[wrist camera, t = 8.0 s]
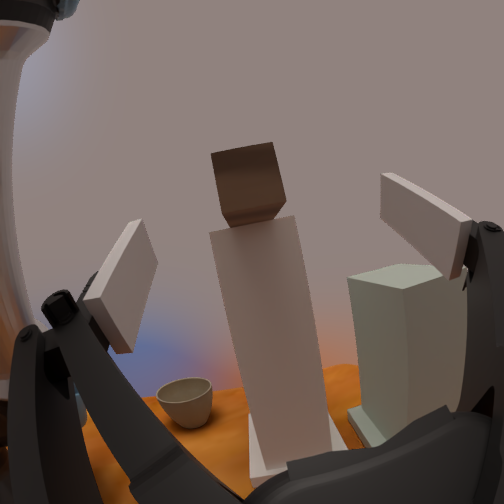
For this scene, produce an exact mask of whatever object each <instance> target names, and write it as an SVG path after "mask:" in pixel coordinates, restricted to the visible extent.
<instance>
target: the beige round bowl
mask: <svg viewBox="0 0 504 504" xmlns="http://www.w3.org/2000/svg"><path fill="white" fill-rule="evenodd" d="M156 397H157V400H158V401H159V403H160V405H161V406H162V408H163V409H164V411H165V412H166V413H167V414H168V415H169V416H170V417H171V418H172V419H173V420H174V421H175V422H177V423H178V424H179V425H181V426H182V427H184V428H189V429H190V428H197V427H200V426H202V425H204V424H205V423H206V422H207V420H208V417H209V415H210V411H211V406H212V385H211V382H210V381H209V380H207V379H205V378H199V377H191V378H184V379H179V380H175V381H172V382H170V383H168V384H165V385H164V386H162V387H161V388H160V389H159V390H158V391H157V393H156Z"/></svg>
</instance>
